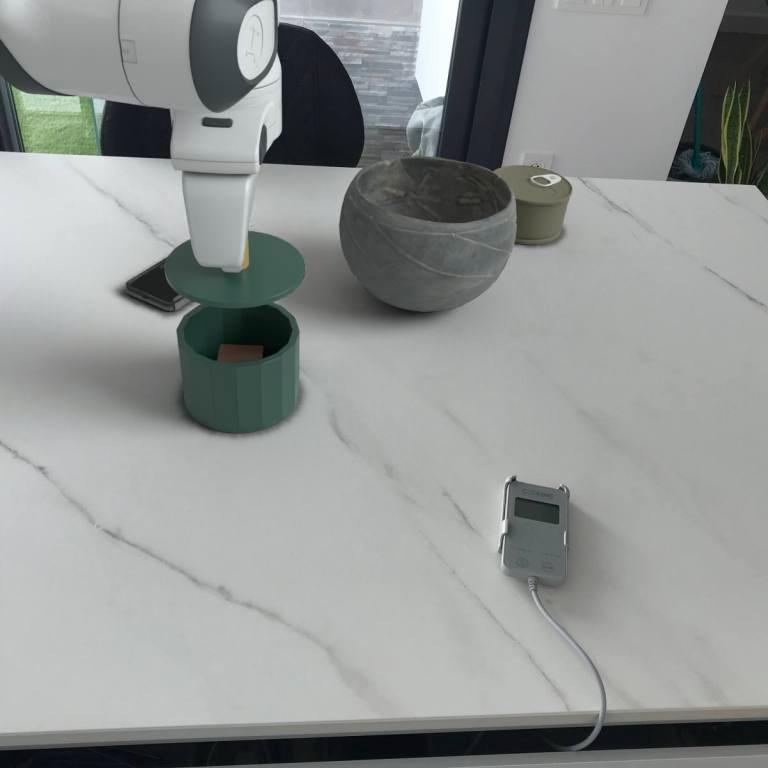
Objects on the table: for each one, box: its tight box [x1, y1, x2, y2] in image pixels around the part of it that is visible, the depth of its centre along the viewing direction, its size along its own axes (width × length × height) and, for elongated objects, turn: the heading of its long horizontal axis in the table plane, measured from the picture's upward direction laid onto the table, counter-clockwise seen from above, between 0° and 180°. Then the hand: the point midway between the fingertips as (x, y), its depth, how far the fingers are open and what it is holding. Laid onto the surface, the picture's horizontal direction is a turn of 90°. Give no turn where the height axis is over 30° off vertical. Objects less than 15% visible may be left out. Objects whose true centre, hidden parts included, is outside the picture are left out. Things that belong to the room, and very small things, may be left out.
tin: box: [175, 302, 301, 434], centre depth 79 cm, size 12×12×8 cm
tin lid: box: [165, 230, 306, 308], centre depth 71 cm, size 13×13×5 cm
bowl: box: [338, 155, 517, 313], centre depth 95 cm, size 21×21×15 cm
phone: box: [125, 256, 192, 312], centre depth 98 cm, size 8×1×15 cm
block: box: [217, 344, 264, 364], centre depth 80 cm, size 4×4×4 cm
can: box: [492, 164, 573, 246], centre depth 114 cm, size 12×12×7 cm
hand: (234, 257), depth 71 cm, fingers closed on tin lid, 2 cm apart
